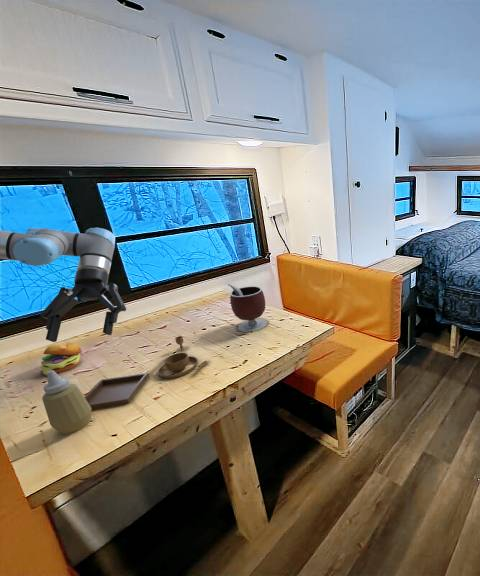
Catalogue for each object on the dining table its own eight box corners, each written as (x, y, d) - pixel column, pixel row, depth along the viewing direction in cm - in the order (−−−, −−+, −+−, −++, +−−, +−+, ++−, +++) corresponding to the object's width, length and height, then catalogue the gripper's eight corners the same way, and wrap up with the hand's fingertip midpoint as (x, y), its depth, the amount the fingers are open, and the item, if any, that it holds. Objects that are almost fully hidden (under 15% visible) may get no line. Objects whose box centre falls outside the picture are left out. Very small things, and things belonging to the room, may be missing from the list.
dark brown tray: (75, 413, 88) (72, 407, 88) (103, 384, 101) (101, 379, 100) (129, 404, 91) (127, 399, 91) (149, 377, 104) (148, 372, 103)
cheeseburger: (32, 376, 106) (28, 348, 105) (68, 365, 116) (65, 339, 115) (56, 377, 104) (53, 349, 103) (90, 366, 115) (87, 340, 114)
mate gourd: (275, 320, 143) (268, 280, 136) (256, 335, 131) (248, 291, 124) (246, 318, 147) (239, 278, 140) (226, 331, 134) (216, 289, 127)
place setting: (142, 380, 102) (136, 365, 100) (179, 348, 121) (176, 335, 119) (193, 379, 102) (189, 364, 100) (223, 348, 121) (220, 335, 119)
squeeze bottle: (46, 439, 80) (16, 382, 74) (75, 416, 87) (49, 362, 81) (78, 437, 80) (50, 380, 74) (103, 415, 88) (80, 361, 81)
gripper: (144, 274, 103) (136, 334, 94) (55, 282, 97) (37, 347, 88) (131, 263, 96) (121, 326, 88) (34, 271, 90) (14, 339, 82)
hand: (79, 337), depth 88 cm, fingers open, 13 cm apart
